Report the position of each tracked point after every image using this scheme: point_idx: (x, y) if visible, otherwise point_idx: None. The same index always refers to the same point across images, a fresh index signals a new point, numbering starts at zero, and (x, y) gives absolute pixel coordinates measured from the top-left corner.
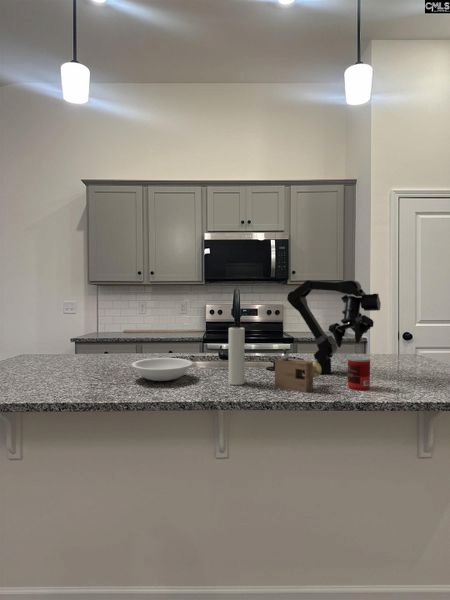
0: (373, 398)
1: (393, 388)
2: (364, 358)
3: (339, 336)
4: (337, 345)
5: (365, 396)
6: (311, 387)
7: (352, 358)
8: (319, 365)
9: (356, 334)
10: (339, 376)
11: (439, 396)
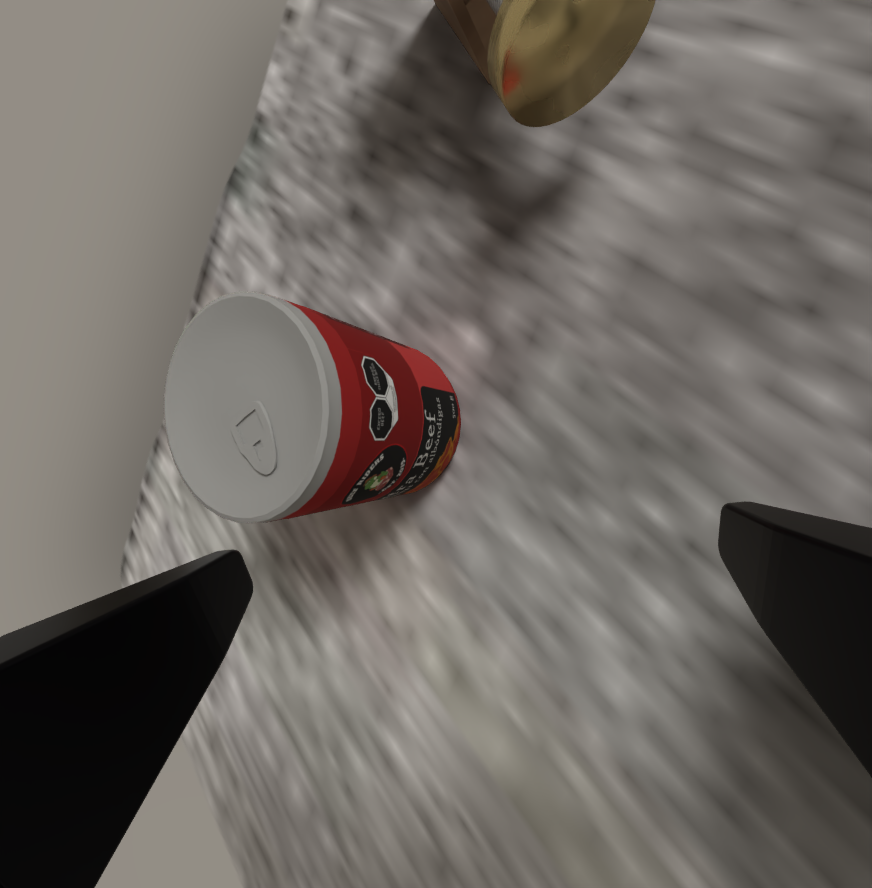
0: None
1: (315, 607)
2: (244, 483)
3: None
4: (765, 506)
5: None
6: (471, 54)
7: (284, 361)
8: (496, 51)
9: (54, 619)
10: None
11: None
